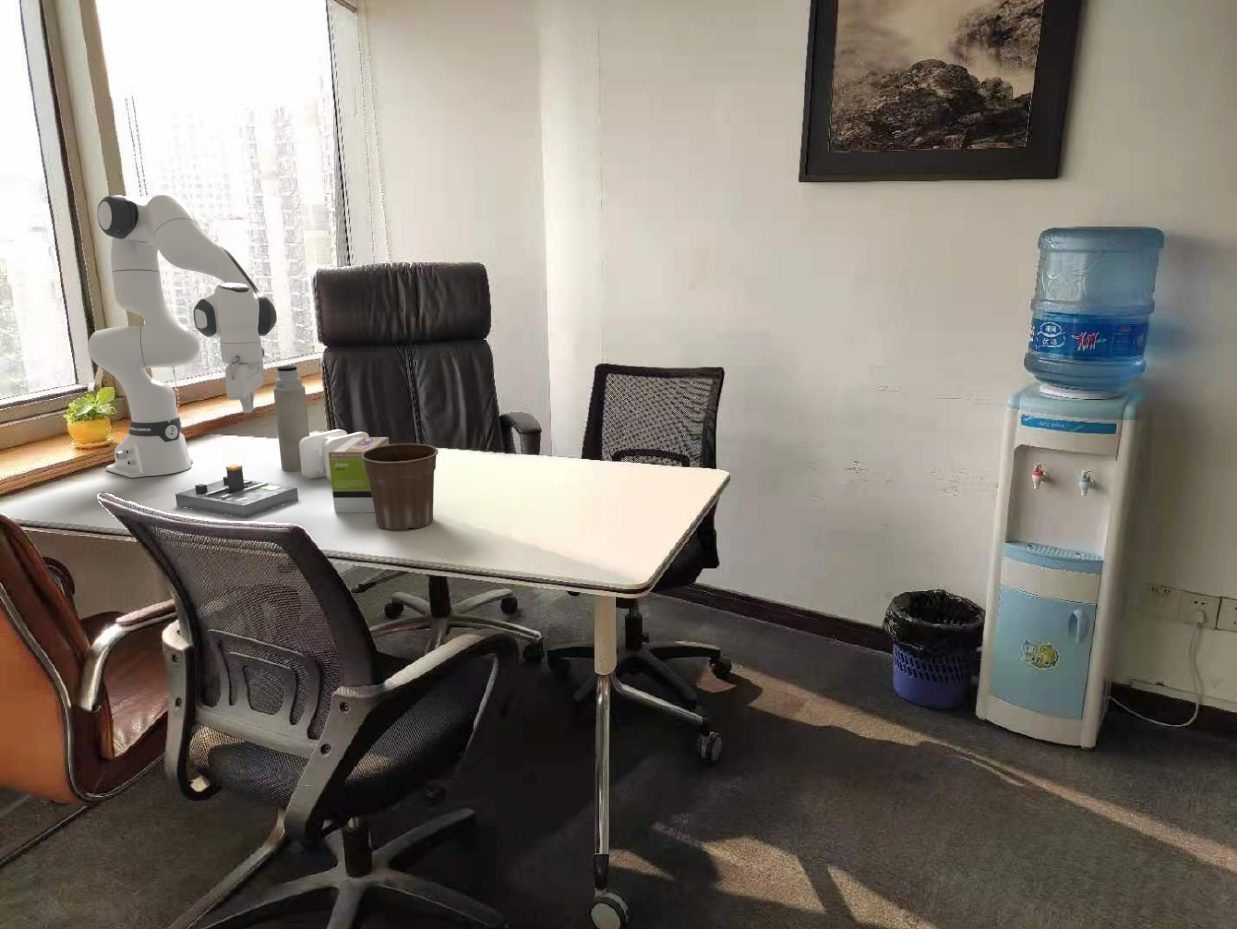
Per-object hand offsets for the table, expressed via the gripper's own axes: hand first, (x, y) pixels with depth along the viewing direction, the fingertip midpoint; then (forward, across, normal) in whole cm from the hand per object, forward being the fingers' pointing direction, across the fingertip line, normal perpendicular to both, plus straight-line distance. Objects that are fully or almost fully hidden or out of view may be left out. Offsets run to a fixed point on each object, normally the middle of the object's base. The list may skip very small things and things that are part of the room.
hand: (248, 411), depth 203 cm
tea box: (+21, -11, -26) cm, 36 cm away
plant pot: (+21, -27, -37) cm, 51 cm away
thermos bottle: (+21, +27, -4) cm, 35 cm away
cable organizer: (+21, +15, -16) cm, 31 cm away
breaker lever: (+18, -5, +3) cm, 19 cm away
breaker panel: (+21, -5, +3) cm, 22 cm away
